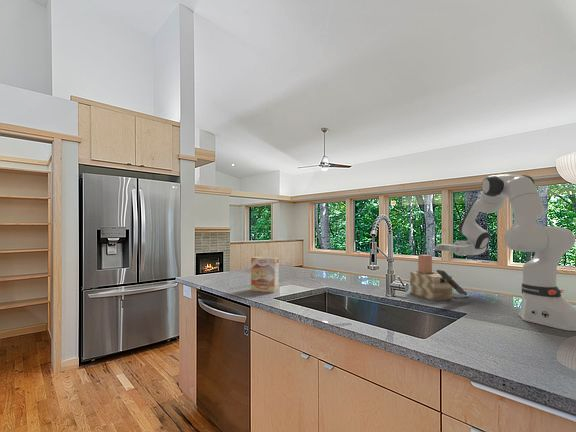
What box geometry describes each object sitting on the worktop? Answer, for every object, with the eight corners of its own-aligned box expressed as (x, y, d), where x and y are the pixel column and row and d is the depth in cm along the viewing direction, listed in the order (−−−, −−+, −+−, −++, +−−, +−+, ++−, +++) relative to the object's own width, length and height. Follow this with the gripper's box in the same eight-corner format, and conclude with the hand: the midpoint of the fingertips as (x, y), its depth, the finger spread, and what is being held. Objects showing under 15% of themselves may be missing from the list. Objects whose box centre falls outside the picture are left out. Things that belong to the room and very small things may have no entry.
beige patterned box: (452, 298, 165) (452, 275, 165) (434, 300, 161) (433, 276, 162) (427, 291, 182) (427, 270, 183) (410, 292, 179) (410, 270, 179)
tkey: (467, 293, 158) (444, 270, 154) (465, 295, 158) (442, 273, 154) (455, 290, 165) (432, 268, 161) (453, 292, 165) (431, 270, 161)
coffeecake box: (250, 290, 181) (250, 257, 182) (255, 288, 188) (255, 256, 189) (274, 292, 177) (274, 258, 177) (278, 290, 183) (279, 257, 184)
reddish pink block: (431, 273, 174) (431, 255, 175) (424, 273, 173) (424, 255, 173) (425, 272, 179) (425, 254, 179) (418, 272, 178) (418, 254, 178)
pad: (469, 297, 168) (469, 296, 168) (456, 298, 165) (456, 297, 165) (456, 293, 177) (456, 292, 177) (443, 294, 174) (443, 293, 174)
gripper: (446, 241, 194) (428, 241, 190) (475, 244, 175) (456, 244, 171) (446, 251, 194) (428, 252, 190) (475, 255, 175) (456, 256, 170)
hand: (442, 248), depth 180 cm, fingers open, 8 cm apart
